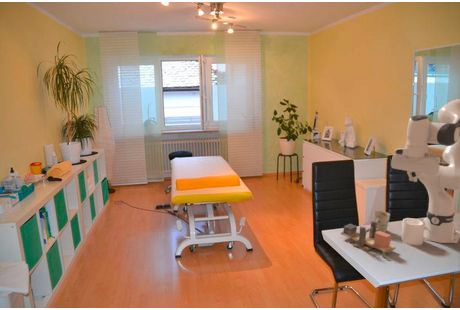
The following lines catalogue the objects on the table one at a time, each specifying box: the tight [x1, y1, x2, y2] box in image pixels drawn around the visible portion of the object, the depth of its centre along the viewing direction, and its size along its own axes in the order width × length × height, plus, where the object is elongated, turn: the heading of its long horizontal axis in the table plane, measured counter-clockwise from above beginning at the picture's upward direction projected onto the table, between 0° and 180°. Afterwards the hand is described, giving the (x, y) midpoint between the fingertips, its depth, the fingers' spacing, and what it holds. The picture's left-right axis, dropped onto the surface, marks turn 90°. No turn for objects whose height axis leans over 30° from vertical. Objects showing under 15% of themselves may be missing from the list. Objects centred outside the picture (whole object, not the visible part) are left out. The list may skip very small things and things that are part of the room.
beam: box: [340, 223, 397, 254], centre depth 179 cm, size 26×9×7 cm, turn 39°
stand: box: [352, 220, 387, 258], centre depth 176 cm, size 16×13×11 cm
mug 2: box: [400, 217, 431, 246], centre depth 182 cm, size 14×10×11 cm
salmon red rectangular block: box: [374, 231, 392, 248], centre depth 173 cm, size 6×4×6 cm, turn 40°
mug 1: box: [373, 210, 391, 233], centre depth 194 cm, size 8×13×10 cm, turn 140°
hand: (413, 181), depth 161 cm, fingers closed
